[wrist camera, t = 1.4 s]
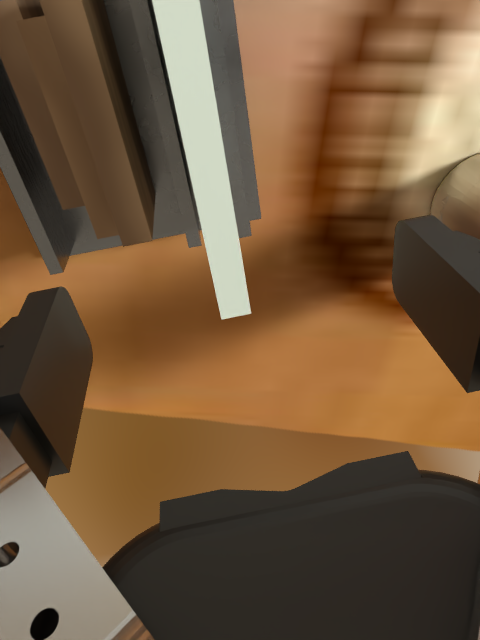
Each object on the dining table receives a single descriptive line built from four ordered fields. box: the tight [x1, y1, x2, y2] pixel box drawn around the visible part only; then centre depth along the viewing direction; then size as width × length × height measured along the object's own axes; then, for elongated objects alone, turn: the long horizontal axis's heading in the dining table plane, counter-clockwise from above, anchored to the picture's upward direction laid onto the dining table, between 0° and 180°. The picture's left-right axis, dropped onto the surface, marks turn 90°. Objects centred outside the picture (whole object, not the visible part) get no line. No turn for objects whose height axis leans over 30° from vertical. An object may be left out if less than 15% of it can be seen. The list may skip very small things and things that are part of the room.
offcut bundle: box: [0, 0, 156, 246], centre depth 30 cm, size 6×14×9 cm, turn 9°
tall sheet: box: [152, 0, 251, 320], centre depth 26 cm, size 2×16×18 cm, turn 9°
